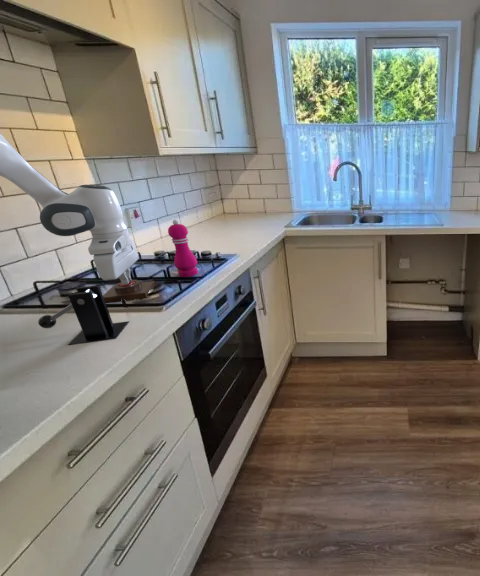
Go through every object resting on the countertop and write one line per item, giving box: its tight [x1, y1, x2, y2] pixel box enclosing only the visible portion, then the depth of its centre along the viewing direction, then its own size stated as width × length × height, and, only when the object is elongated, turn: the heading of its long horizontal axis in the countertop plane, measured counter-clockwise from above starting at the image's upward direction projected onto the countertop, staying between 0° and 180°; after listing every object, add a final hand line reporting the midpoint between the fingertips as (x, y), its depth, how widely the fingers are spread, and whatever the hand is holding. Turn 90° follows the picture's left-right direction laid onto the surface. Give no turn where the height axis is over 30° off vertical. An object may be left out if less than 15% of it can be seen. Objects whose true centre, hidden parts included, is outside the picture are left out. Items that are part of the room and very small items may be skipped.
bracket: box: [67, 284, 130, 346], centre depth 89 cm, size 10×9×13 cm
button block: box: [102, 279, 157, 304], centre depth 114 cm, size 12×10×4 cm
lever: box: [37, 289, 97, 329], centre depth 87 cm, size 14×3×3 cm, turn 104°
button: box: [119, 281, 135, 287], centre depth 113 cm, size 4×4×2 cm
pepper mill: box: [167, 219, 199, 278], centre depth 127 cm, size 7×7×20 cm
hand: (127, 283), depth 113 cm, fingers closed, pressing on button
